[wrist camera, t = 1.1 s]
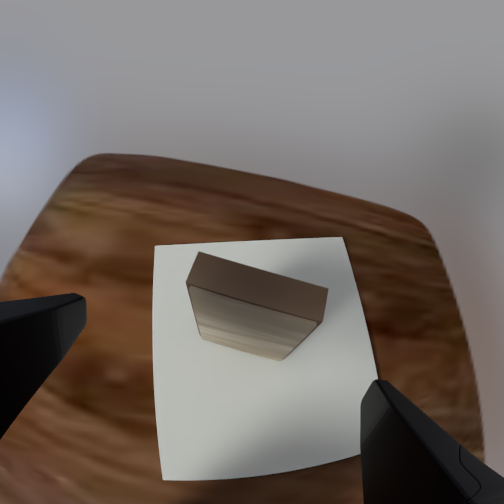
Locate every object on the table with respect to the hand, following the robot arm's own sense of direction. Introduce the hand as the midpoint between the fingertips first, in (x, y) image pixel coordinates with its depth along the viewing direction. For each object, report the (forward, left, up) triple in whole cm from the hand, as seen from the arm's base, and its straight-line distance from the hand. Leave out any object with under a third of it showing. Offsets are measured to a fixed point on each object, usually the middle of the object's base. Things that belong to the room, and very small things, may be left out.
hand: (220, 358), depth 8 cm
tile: (+4, -2, -12) cm, 13 cm away
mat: (+3, -3, -13) cm, 13 cm away
